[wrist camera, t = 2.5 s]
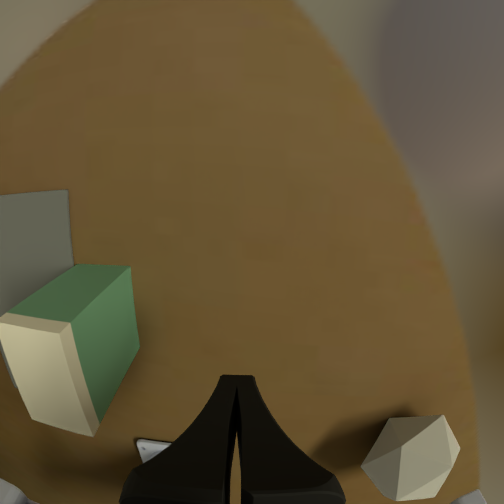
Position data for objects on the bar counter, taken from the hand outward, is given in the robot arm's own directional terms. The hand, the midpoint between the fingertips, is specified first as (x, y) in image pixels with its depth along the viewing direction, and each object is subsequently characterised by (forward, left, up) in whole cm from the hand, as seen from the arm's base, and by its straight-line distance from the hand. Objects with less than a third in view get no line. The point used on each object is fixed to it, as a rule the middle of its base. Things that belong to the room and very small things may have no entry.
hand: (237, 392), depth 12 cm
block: (0, +9, -8) cm, 12 cm away
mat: (-1, +17, -8) cm, 18 cm away
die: (-13, -15, -8) cm, 21 cm away
